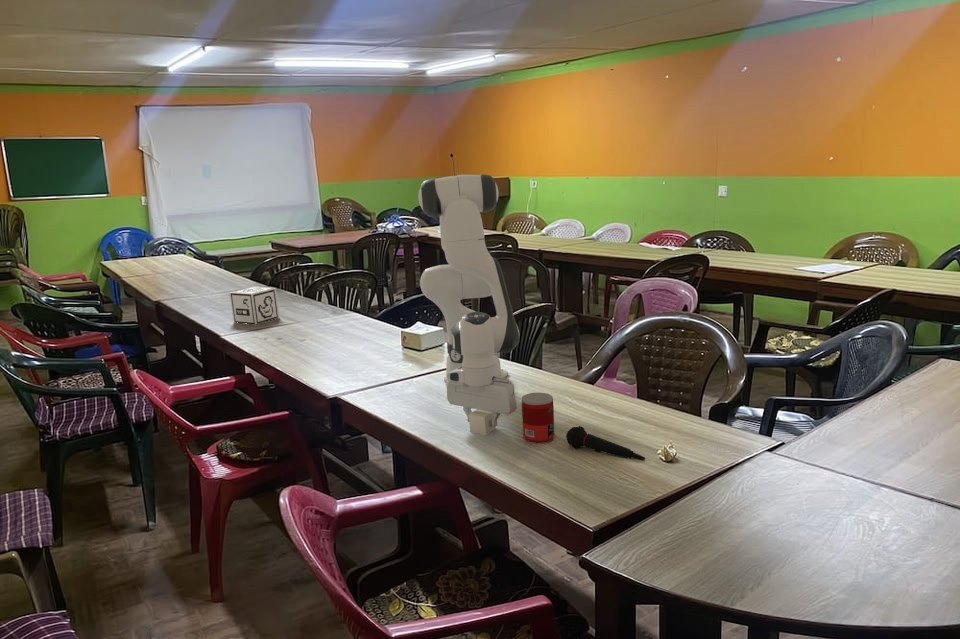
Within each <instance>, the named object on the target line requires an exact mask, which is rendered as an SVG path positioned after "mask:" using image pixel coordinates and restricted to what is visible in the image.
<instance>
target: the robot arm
mask: <svg viewBox="0 0 960 639" xmlns="http://www.w3.org/2000/svg"><path fill="white" fill-rule="evenodd" d="M499 195H500V194H499V187H498V185H497V183H496V180H495V178H494V177H492V175H489V174H483V173H480V174H479V175H478V174H457V175H450V176H444V177H438V178H433V177H432V178H429V179H426V180H423V182H422V183H421V184H420V188H419V190H418V203H419V206H420V208H421V210H422V213H424V214H425V215H426V216H427V217H430V218H433V219H434V221H438V218H439V228H440V229H439V232H440V242H441V249H442V250H443V252H444V257H445V259H446V262H447V264H439V265H435V266H431V267H427V268H425V269H424V270H423V271H422V273H421V276H420V280H419V286H420V289H421V292H422V294H423V295H424V297H426V298H427V299H428V300H429V301H431V302H432V303H434V304H435V305H436V306H437V307H438V308H439V310H440V311H441V312H442V314H443V318H444V321H445V323H446V324H445V325H446V330H447V339H448V340H447V342H446V350H447V354H448V356H446V363H445V364H446V366H445V367H446V368H445V373H446V374H445V376H444V377H443V378H444V379H443V380H444V382H445V386H446V400H447V401H448V403H449V404H450V405H453V406H458V407H463V409H462V410H463V412H464V414H465V415H466V417H467V422H468V423H469V414H470V413H472V412H473V411H472V409H475V410H477V409H479V410H484V411H489V412H492V416H494V417H493V419H491V420H489V426H490V427H496V428H497V427H498V419H499V418H500V415H507V416H510V415H511V414H512V413H514V412H515V411H516V410H517V398H516V394H515V385H514V383H513V382H512V381H510V379H508V378H506V377H508V375H509V371H508V370H506V369H502V368H501V366H502V365H501V360H500V358H499V357H498V356H497V355H495V353H497V354H498V353H500V354H501V353H505V354H506V353H507V354H509V353H510V352H512V351H513V350H514V349H516V347H517V346H518V344H519V343H520V330H519V326H518V323H517V321H516V318H515V315H514V312H513V307H512V304H511V300H510V296H509V293H508V288H507V285H506V280H505V276H504V274H503V271H502V266H501V265H500V262H499V261H498V259H497V258H496V257H493V256H492V255H491V254H490V252H489V251H488V248H487V246H486V241H485V231H484V225H483V220H482V215H481V213H484V214H485V213H488V212H491V211H493V210H494V209H495V208H496V207H497V203H498V201H499ZM490 296H491V297H492V300H493V304H494V308H495V312H496V315H495V316H493V317H491V316H490V314H488V313H486V312H483V311H481V312H480V311H475V310H473V309H470V308H469V307H466V306H464V305H463V304H462V303H461V300H465V299H467V300H468V299H480V298H487V297H490Z"/></svg>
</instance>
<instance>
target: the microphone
mask: <svg viewBox="0 0 960 639" xmlns="http://www.w3.org/2000/svg"><path fill="white" fill-rule="evenodd" d="M565 438H566V442H567V444H569V445H570V446H571V448H573V449H575V450H578V449H581V448H583V447H584V448H587V449H589V450H593V451H594V452H597V453H604V454H605V453H606V454H609V455H613V456H617V457H621V458H625V459H634V460H640V461H645V460H646V457H644V456H642V455H640V454H638V453H636V452H634V450H631V449H630V448H627V447H626V446H622V445H620V444H618V443H615V442H612V441H609V440H606V439H604V438H601V437H599V436H596V435H593V434H591V433H587V431H586V429H585V428H584V427H583V426H580V425H579V426H572V427H571V428H570V429H569V430H567V431H566V436H565Z"/></svg>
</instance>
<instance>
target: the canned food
mask: <svg viewBox="0 0 960 639" xmlns="http://www.w3.org/2000/svg"><path fill="white" fill-rule="evenodd" d="M554 414H555V410H554V397H553V395H552V394H549V393H546V392H530V393H527V394H524V395H522V397H521V416H522V418H521V419H522V433H523V434H522V435H523V438H524V440H525V441H526V442H528V443H532V444H545V443H549V442H551V441H553V440H554V438H555V415H554Z"/></svg>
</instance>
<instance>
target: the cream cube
mask: <svg viewBox="0 0 960 639" xmlns="http://www.w3.org/2000/svg"><path fill="white" fill-rule="evenodd" d="M493 417H494V416H492V412H489V411H484V410H479V409H475V410H474V411H472V413H470V414H469V422H468V423H469V432H470V433H475V434H479V435H484V436H486V435H488V434H490V433H491V432H493V431H494V430H496V429H497V426H496V427H490V426H489V420H491V419H493Z"/></svg>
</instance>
